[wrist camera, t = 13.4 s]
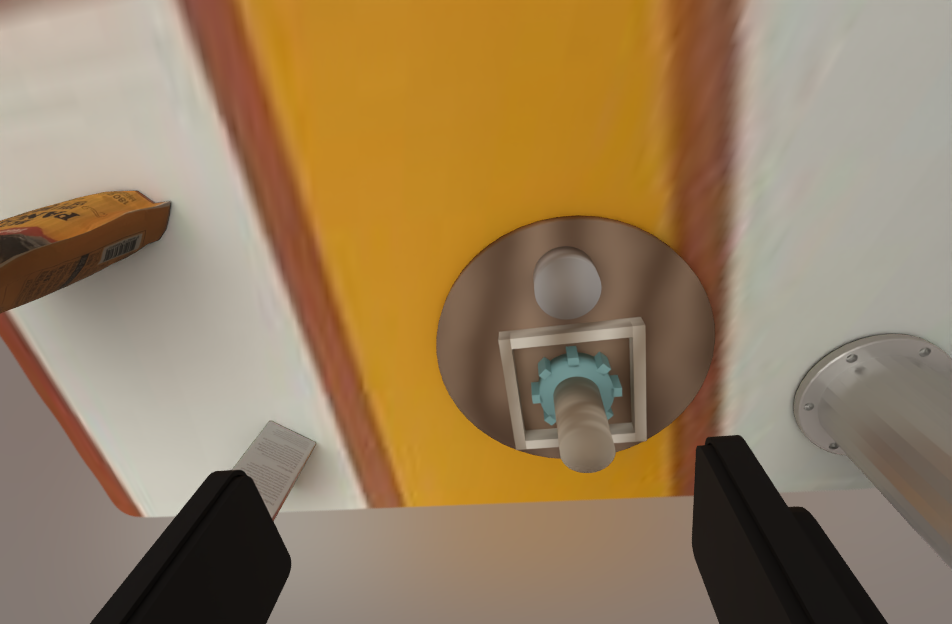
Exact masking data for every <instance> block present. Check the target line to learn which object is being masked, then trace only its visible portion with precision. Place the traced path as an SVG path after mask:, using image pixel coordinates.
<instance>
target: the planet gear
mask: <svg viewBox="0 0 952 624" xmlns="http://www.w3.org/2000/svg"><path fill="white" fill-rule="evenodd" d="M610 370H611V367H610V364H609V361H608V358H607V356H605V355H604V354H602V353H601V352H600V351H599V352H598V353H597V354H596V355H595V356H591V355H589V354H586V353H579V352H577V348H576V346H567V347H566V354H562V355H560V356H557V357H555V358H553V359H552V360H551V361H550V360H548V359H547V358H545V357H543V359H542V360H541V361H540V362H539V363H538V374H539V376H540V377H539V382H531V390H532V401H533V404H536V403H541V405H542V408H543V411H544V421H546V422H547V423H549V424H550V425H553V424H554V423H555V422H556V424H557V433H558V441H559V450H560V457H561V459H562V461H563V463H564V464H565V465H566V466H567V467H569V468H570V469H572V470H574V471H577V472H582V473H592V472H597V471H600V470H602V469H604V468H606V467H607V466H608V465H609V464H610V463H611V462H612V461H613V459H614V457H615V446H614V442H613V438H612V435H611V431H610V427H609V424H608V420H609V419H610V418H611V417H612V416H613V412H612V409H611V405H612V403H613V400H614V397H620V396H622V386H621V384H620V381H619V378H618V375H609V371H610Z"/></svg>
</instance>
